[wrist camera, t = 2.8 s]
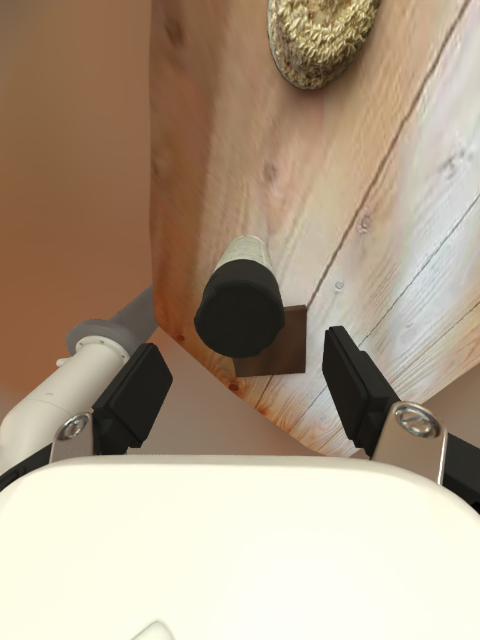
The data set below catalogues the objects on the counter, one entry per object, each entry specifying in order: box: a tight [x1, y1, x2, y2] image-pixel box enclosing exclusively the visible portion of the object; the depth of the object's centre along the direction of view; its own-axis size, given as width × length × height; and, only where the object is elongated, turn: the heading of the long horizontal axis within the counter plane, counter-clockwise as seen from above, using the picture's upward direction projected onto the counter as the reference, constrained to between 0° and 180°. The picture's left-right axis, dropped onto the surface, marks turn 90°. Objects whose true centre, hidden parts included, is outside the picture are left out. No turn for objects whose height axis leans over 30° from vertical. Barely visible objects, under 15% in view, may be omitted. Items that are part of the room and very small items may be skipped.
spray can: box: [194, 234, 286, 358], centre depth 22 cm, size 7×7×20 cm
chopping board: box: [233, 305, 307, 377], centre depth 39 cm, size 15×16×2 cm
